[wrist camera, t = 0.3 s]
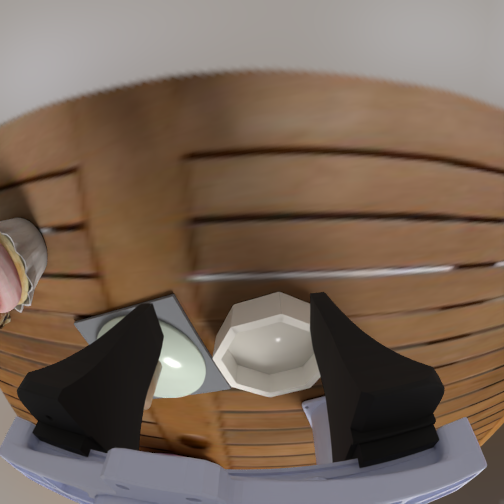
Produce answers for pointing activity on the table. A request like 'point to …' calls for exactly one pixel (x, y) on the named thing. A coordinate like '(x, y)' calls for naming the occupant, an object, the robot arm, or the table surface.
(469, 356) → the table surface
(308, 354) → the bowl
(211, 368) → the mat
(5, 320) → the bread roll
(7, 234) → the cupcake
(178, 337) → the lid
